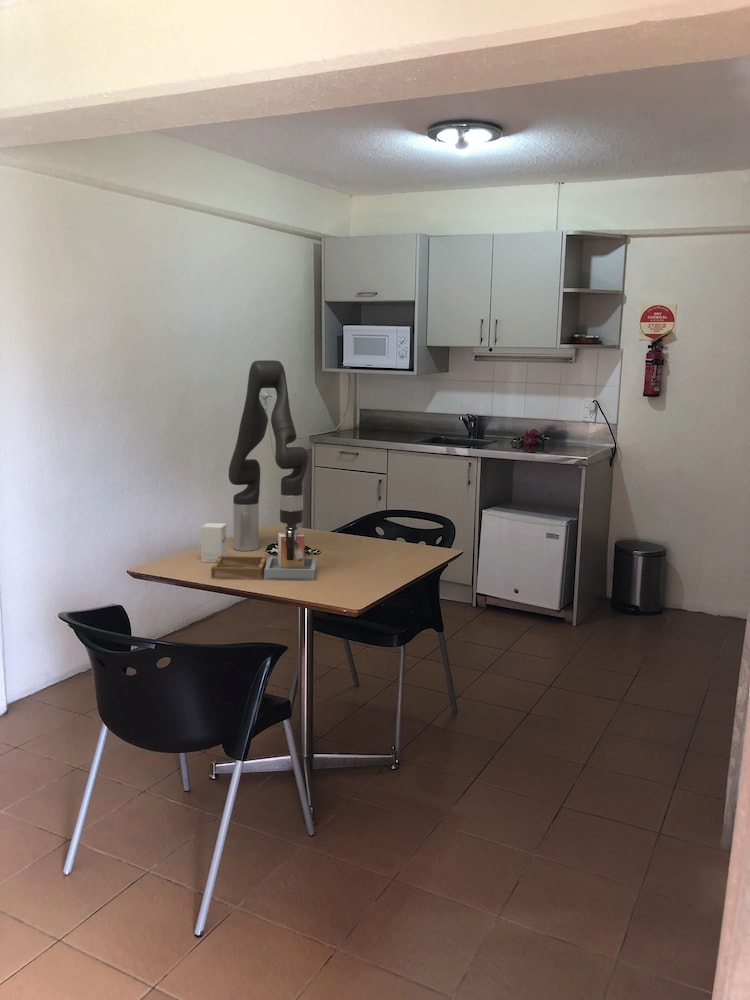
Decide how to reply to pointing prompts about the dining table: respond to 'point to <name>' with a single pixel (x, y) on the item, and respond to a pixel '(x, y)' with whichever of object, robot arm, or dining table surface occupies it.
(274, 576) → the tray
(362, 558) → the dining table surface
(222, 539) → the supplement box
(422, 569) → the dining table surface
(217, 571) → the frame
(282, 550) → the small box
